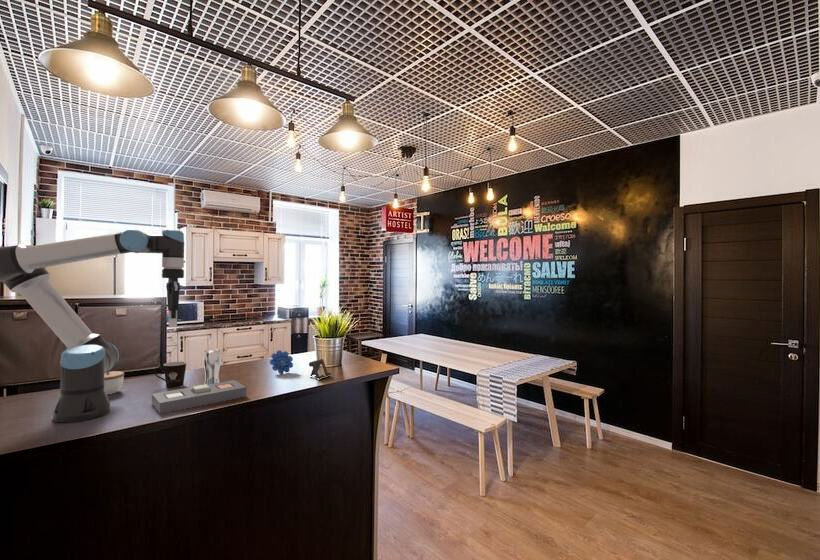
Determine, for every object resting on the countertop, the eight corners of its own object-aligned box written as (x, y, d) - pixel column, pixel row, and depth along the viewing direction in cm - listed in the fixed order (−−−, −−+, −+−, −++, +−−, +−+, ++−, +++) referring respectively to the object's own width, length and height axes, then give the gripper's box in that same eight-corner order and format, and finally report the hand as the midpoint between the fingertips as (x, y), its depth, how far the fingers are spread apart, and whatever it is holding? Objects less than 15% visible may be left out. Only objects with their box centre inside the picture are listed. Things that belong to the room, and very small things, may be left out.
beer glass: (222, 383, 173) (223, 351, 173) (206, 386, 168) (206, 353, 168) (217, 380, 178) (217, 348, 178) (200, 383, 173) (201, 350, 172)
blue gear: (271, 377, 186) (271, 352, 186) (268, 373, 192) (268, 350, 192) (295, 374, 192) (295, 350, 192) (291, 371, 198) (292, 348, 198)
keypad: (159, 414, 134) (159, 403, 134) (151, 404, 144) (151, 393, 144) (246, 396, 155) (246, 387, 155) (234, 389, 165) (234, 380, 165)
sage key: (195, 396, 146) (195, 389, 146) (191, 393, 150) (192, 386, 150) (209, 394, 150) (209, 387, 150) (205, 391, 153) (205, 384, 153)
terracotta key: (220, 395, 152) (220, 388, 152) (216, 392, 156) (216, 385, 156) (233, 393, 156) (233, 386, 156) (229, 390, 159) (229, 383, 159)
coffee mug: (190, 383, 172) (190, 361, 172) (177, 389, 163) (177, 366, 163) (166, 382, 173) (166, 360, 173) (152, 388, 165) (152, 365, 165)
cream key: (168, 405, 140) (168, 398, 140) (165, 402, 143) (165, 394, 143) (183, 402, 143) (183, 395, 143) (180, 399, 147) (180, 392, 147)
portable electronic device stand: (319, 381, 180) (319, 363, 180) (306, 379, 184) (306, 361, 184) (331, 377, 188) (331, 360, 188) (318, 375, 192) (318, 358, 191)
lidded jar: (130, 390, 161) (130, 368, 161) (104, 398, 151) (104, 374, 151) (111, 388, 164) (111, 366, 164) (83, 395, 153) (84, 372, 153)
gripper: (187, 268, 152) (187, 327, 152) (180, 268, 162) (179, 324, 162) (165, 268, 147) (165, 328, 147) (159, 268, 157) (158, 325, 157)
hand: (172, 326), depth 155 cm, fingers closed
